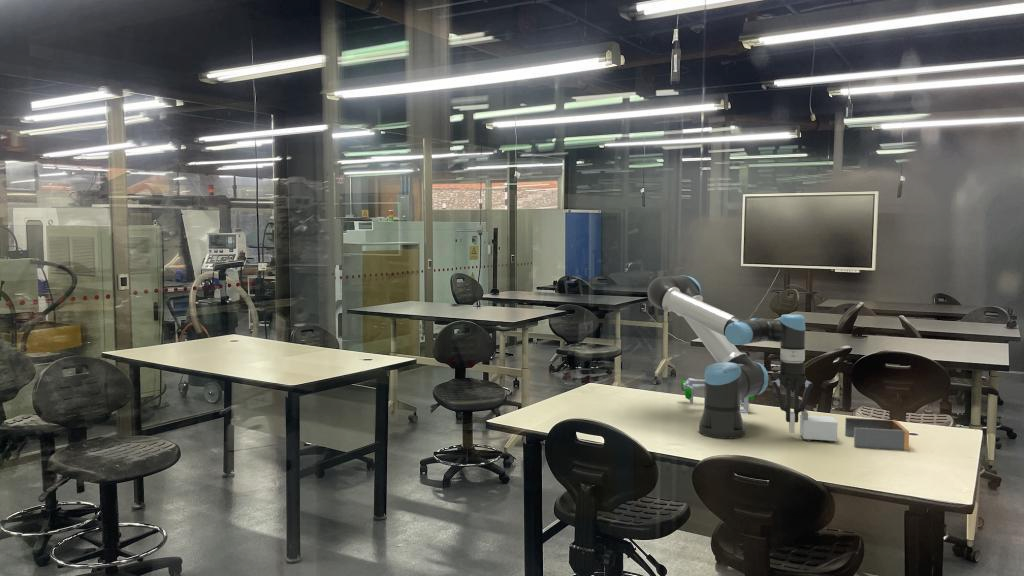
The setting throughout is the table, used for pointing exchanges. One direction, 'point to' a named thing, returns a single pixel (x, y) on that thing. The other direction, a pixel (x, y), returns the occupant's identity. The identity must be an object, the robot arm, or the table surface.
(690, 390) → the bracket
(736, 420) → the robot arm
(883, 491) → the table surface
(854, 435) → the bay
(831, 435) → the white chamfered box
